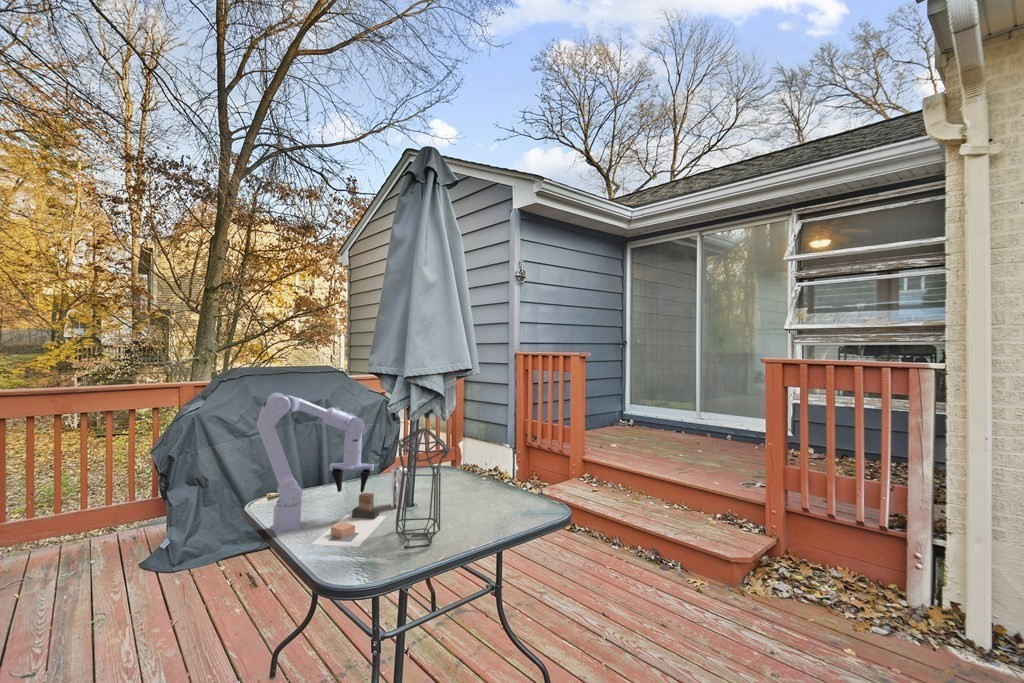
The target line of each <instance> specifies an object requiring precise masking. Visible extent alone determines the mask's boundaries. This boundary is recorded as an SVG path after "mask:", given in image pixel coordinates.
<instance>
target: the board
mask: <svg viewBox="0 0 1024 683" xmlns="http://www.w3.org/2000/svg"><path fill="white" fill-rule="evenodd" d="M385 518H387V515H379V516H378V517H376V518H375V519H364V518H352V513H351V514H349V513H348V514H345V515H344V516H343V517H342V518H340V519H339V520H338V521H337V522H336V523H334V525H333V526H335V525H337V524H340V523H343V522H346V523H349V524H352V525H355V534H352V535H350V536H347V537H345V538H342V539H341V538H338V537H335V536H332V535H331V527H330V528H329V529H327V531H325V532H324V533H323V534H322V535H320V536H319V537H318V538H317V539H316V540H314V541H313V542H312V543H311V545H317V546H336V547H337V546H338V547H350V548H351V547H353V548H358V547H360V546H361V545H362V544H363V542H364V541H366V539H367V538H368V537H369V536H370V535H371V534H372V533H373V532H374V530H375V529H376V528H377V527H378V526H379V525H380V524H381V523H382V522H383V521H384V520H385Z"/></svg>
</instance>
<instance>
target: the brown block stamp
mask: <svg viewBox="0 0 1024 683" xmlns="http://www.w3.org/2000/svg"><path fill="white" fill-rule="evenodd" d="M374 498H375V493H374V492H373V493H372V492H371V493H370V492H361V494H359V495H358V506H355V507H354V508H353V509H352V510H351V514H352V518H364V519H375V518H376V517H378V516H380V507H374Z"/></svg>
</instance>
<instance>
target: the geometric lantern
mask: <svg viewBox="0 0 1024 683" xmlns="http://www.w3.org/2000/svg"><path fill="white" fill-rule="evenodd" d="M427 434H428V435H429V436H430V437H431V438H432V439H434V441H428V436H427ZM418 437H419V439H418V442H415V440H416V439H417V438H418ZM423 437H424V438H423ZM422 439H424V442H422ZM396 443H398V457H399V460H400V464H401V465H400V466H402V470H403V472H402V479H401V486H400V494H399V501H398V508H396V509H397V510H396V516H395V517H396V519H395V534H396V535H398V536H399V537H400V538H401V539H403V540H404V544H406V542H407V544H406V545H404V546H403V548H405V549H406V548H409V549H410V548H417V547H418V546H419V547H426V546H425V545H428V546H431V545H432V543H433V537H434V536H436V535H437V534H438V533H439V532H440V531H441V487H442V486H441V476H442V473H441V471H440V469H441V466H442V463H443V459H446V457H447V456H448V454H449V452H450V451H452V449H451V448H450V447H448V445H447V444H446V443H445V441H444V440H443V439H441V438H440V437H438V436H437V435H436V434H434V432H432V431H431V430H430V429H429V428H428V427H427V428H426V427H421V428H419V429H416V430H415V431H413V432H412V433H410V434H408V435H405V436H404V437H403V438H401V439H399V440H397V441H396ZM411 444H412V445H413V444H414V445H417V447H416V448H415V447H414V446H412V445H411ZM429 444H434V445H432V446H431V447H430V448H428V447H429ZM421 445H425V450H420V446H421ZM438 445H439V446H441V447H442V449H436V450H432V449H434V448H435V447H436V446H438ZM403 452H406V453H407V454H408V455H410V456H411V457H412V458H411V459H410V461H409V463H408V464H407V465H405V463H404V458H403ZM411 452H414V453H411ZM419 453H422V454H426V458H424V459H422V458H421V459H420V458H419V456H420V455H419ZM430 453H436V454H434V455H432V456H429V454H430ZM441 454H442V455H441ZM440 455H441V457H440V459H439V462H438V464H437V466H435V464H434V463H433V462H432V459H434V458H436V457H438V456H440ZM414 459H415V460H416V461H415V462H414V464H412V463H413V460H414ZM418 462H419V463H420V462H428V464H429V465H416V464H417V463H418ZM411 464H412V465H411ZM410 465H411V466H410ZM403 466H404V467H403ZM405 468H408V469H407V473H405V472H404V469H405ZM413 468H431V471H432V474H410V472H411V470H412V469H413ZM435 469H436V471H435ZM405 475H407V477H406V485H405V493H404V501H403V508H401V503H402V495H403V488H404V480H405ZM410 476H411V477H412V476H413V477H414V476H415V477H417V476H418V477H432V478H431V479H432V480H431V492H430V505H429V513H428V514H429V516H428V517H419V518H418V517H415V518H413V517H412V518H407V504H408V491H409V486H408V477H409V478H410ZM404 506H405V507H404ZM432 506H433V507H432ZM432 508H433V518H432ZM401 509H402V510H401ZM400 517H401V518H400ZM423 520H424V521H426V520H427V523H426V525H425V527H423V528H412V529H406V522H407V521H423ZM430 521H433V522H432V524H431V525H430V526H429V527H428V525H429V522H430ZM400 522H401V525H400V524H399V523H400ZM401 526H402V527H401ZM436 526H437V530H436ZM427 527H428V528H427ZM431 528H432V529H433V531H432V532H430V530H431ZM399 529H400V531H398V530H399ZM421 530H422V531H423V532H413V531H421ZM410 531H411V532H410ZM407 535H409V536H412V537H419V535H422V536H425V535H427V536H428V537H427V536H426V537H423V538H421V537H420V538H408V537H407ZM420 540H421V541H423V540H428V544H427V543H426V544H425V543H424V544H418V545H417V544H416V545H409V544H410V542H409V541H420ZM430 544H431V545H430Z"/></svg>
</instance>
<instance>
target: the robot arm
mask: <svg viewBox="0 0 1024 683" xmlns="http://www.w3.org/2000/svg"><path fill="white" fill-rule="evenodd" d="M289 411H290V412H291V413H293V412H298V411H301V412H303V413H306V414H310V415H312V416H315V417H318V418H321V419H322V421H323V423H324V424H326V425H329V426H331V427H333V428H336V429H339V430H342V431H343V430H344V440H343V441H344V443H343V444H344V445H343V446H344V447H343V462H337V463H336V462H335V463H333V462H331V463H330V464H329V471H331V476H332V477H333V480H334V482H335V485H336V489H337V493H340V492H342V489H343V474H344V471H361V472H360V493H364V491H365V487H366V484H367V481H368V478H369V476H370V475H371V472H373V471H374V469H375V463H364V462H362V448H363V446H362V445H363V444H362V443H363V438H362V437H363V432H364V430H365V429H366V425H365V423H364V420H363V419H362V418H360V417H359V416H356V415H355V414H353V413H351V412H345V411H342V410H341V408H339V407H338V406H335V407H333V406H332V407H329V408H324V407H321V406H319V405H317V404H314V403H313V402H309V401H307V400H305V399H303V398H300V397H296V396H292V395H290V394H289V395H288V394H286V395H284V394H283V393H281V392H273V393H272V392H271V394H269V395H268V396H267V397H266V398H265V400H264V401H263V402H262V405H261V409H260V412H259V416H258V419H257V422H256V427H257V430H258V432H259V435H260V438H261V442H262V444H263V446H264V448H265V452H266V454H267V457H268V460H269V462H270V465H271V467H272V471H273V473H274V476H275V479H276V481H277V488H276V491H277V494H278V495H279V497H278V498H277V500H276V503H275V504H274V507H273V518H272V521H273V522H272V524H273V525H270V526H269V529H270V528H271V529H272V530H273V531H274V532H275V533H276V534H275V533H274V532H273V531H272V530H271V529H270V530H271V531H272V532H273V533H274V534H275V535H276V536H280V535H281V534H282V533H283V532H290V531H294V530H297V529H299V528H301V521H302V520H301V517H302V515H301V514H302V497H303V492H304V491H303V489H302V488H301V486H300V485H299V483H298V480H296V479H295V478H294V475H293V472H292V470H291V468H290V464H289V462H288V459H287V456H286V454H285V452H284V448H283V446H282V443H281V440H280V438H279V435H278V432H277V429H276V426H277V424H278V422H279V421H280V420H281V418H282V417H283V416H285V415H286V414H287V413H288V412H289Z"/></svg>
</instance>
